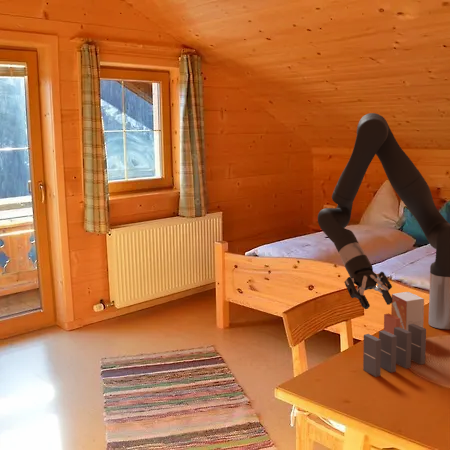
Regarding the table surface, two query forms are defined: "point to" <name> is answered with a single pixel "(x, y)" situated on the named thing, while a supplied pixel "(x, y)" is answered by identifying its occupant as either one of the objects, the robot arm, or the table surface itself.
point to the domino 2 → (391, 323)
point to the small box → (408, 309)
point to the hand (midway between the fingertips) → (379, 305)
